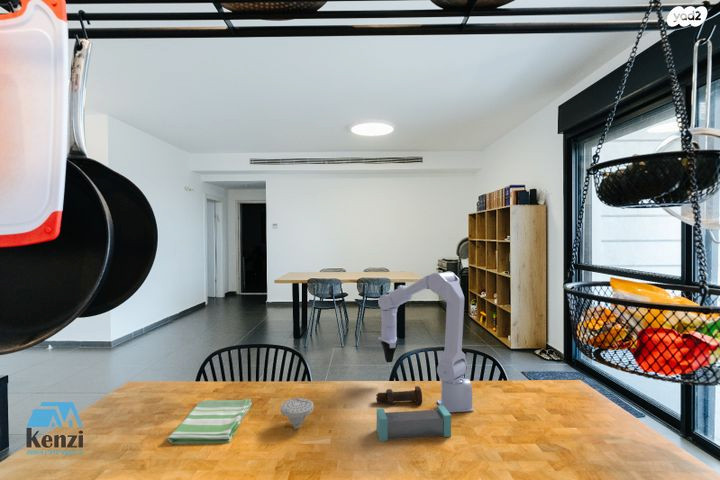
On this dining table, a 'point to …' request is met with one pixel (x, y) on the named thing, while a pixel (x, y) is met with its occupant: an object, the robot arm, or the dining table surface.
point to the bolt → (400, 396)
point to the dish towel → (211, 422)
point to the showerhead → (297, 410)
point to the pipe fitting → (413, 424)
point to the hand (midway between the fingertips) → (388, 361)
